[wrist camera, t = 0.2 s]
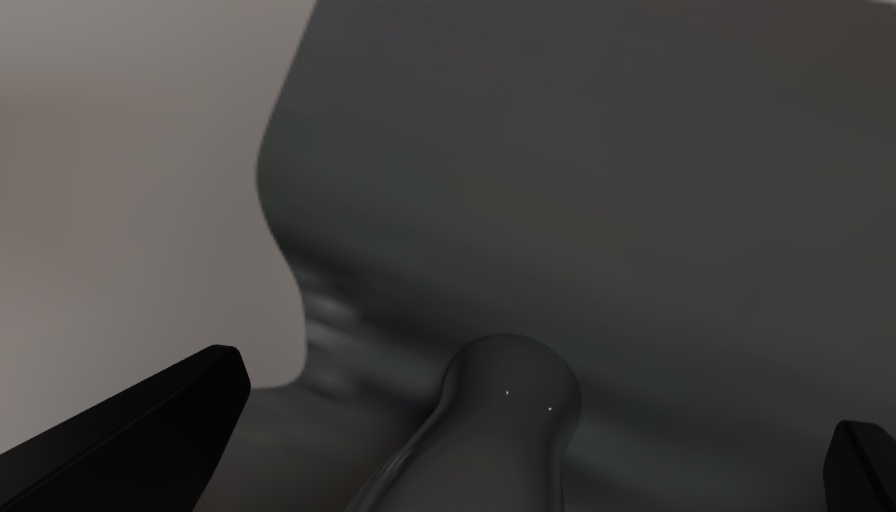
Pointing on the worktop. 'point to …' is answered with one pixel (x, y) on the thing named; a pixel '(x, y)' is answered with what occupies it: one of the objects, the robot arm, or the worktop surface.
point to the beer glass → (485, 437)
